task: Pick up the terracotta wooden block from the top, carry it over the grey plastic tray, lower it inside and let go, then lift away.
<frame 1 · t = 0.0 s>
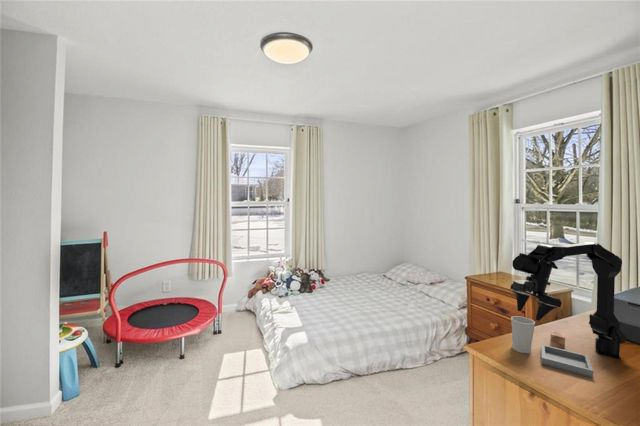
hand: (527, 315, 117), 15 cm above the dresser, tool pointing down, fingers open, 9 cm apart
cup: (521, 349, 122), on the dresser
tray: (564, 363, 112), on the dresser
block: (557, 346, 126), on the dresser
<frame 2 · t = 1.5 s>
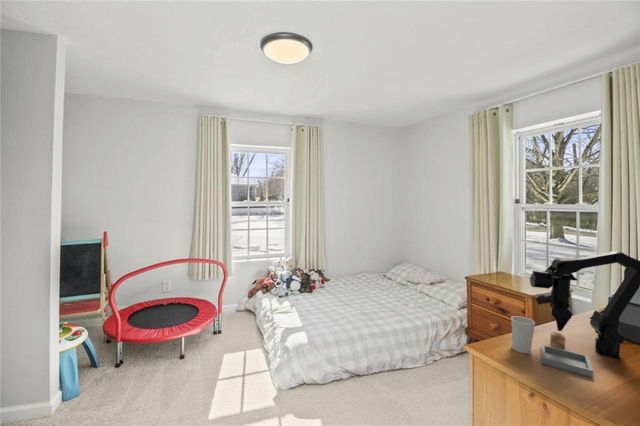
hand: (558, 326, 125), 8 cm above the dresser, tool pointing down, fingers open, 9 cm apart
nothing on the dresser moved.
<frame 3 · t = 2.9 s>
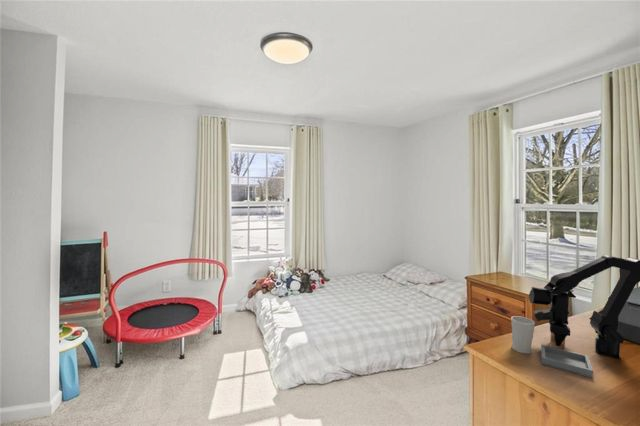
hand: (557, 343, 126), 1 cm above the dresser, tool pointing down, fingers closed on block, 4 cm apart
block: (557, 346, 126), on the dresser, touching gripper
everything else where it was.
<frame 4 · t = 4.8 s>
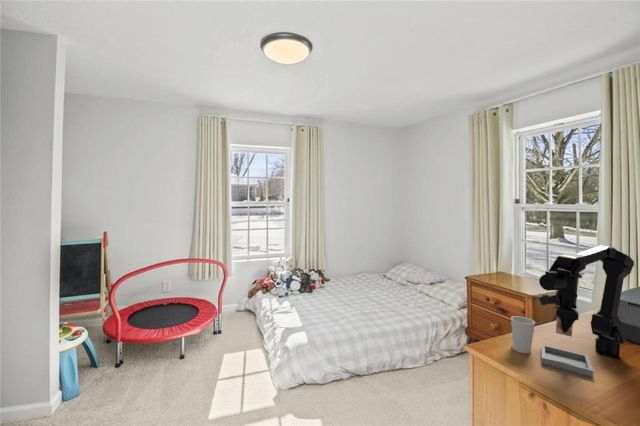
hand: (564, 330, 114), 11 cm above the dresser, tool pointing down, fingers closed on block, 4 cm apart
block: (563, 332, 114), point 10 cm above the dresser, touching gripper
everything else where it was.
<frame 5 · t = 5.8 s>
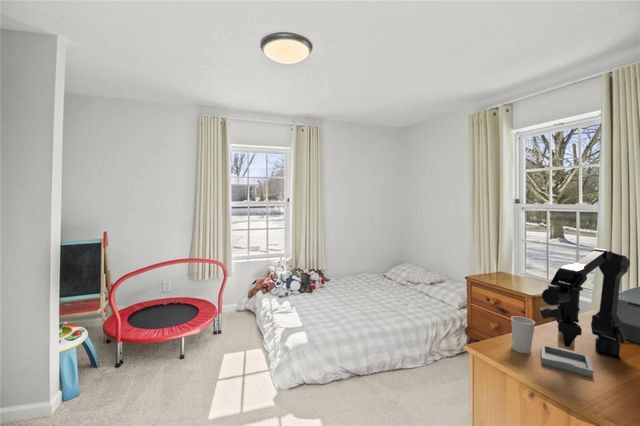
hand: (566, 344, 112), 7 cm above the dresser, tool pointing down, fingers closed on block, 4 cm apart
block: (565, 346, 112), point 6 cm above the dresser, touching gripper
everything else where it was.
when the fingers open (3 cm above the dresser, at t = 6.8 s): block drops 2 cm, resting on tray.
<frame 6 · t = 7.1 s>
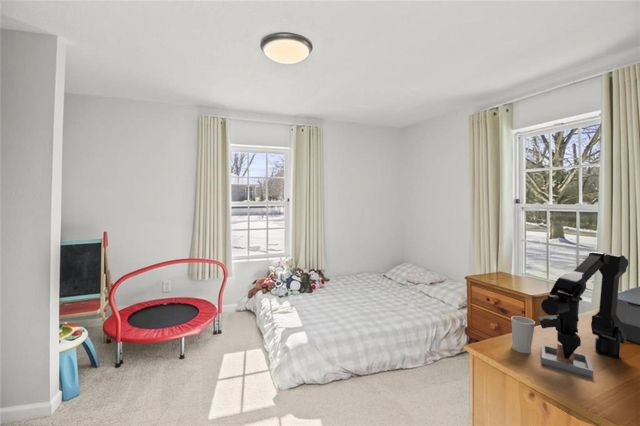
hand: (565, 353, 112), 3 cm above the dresser, tool pointing down, fingers open, 8 cm apart
block: (564, 361, 112), point 1 cm above the dresser, touching tray
everything else where it was.
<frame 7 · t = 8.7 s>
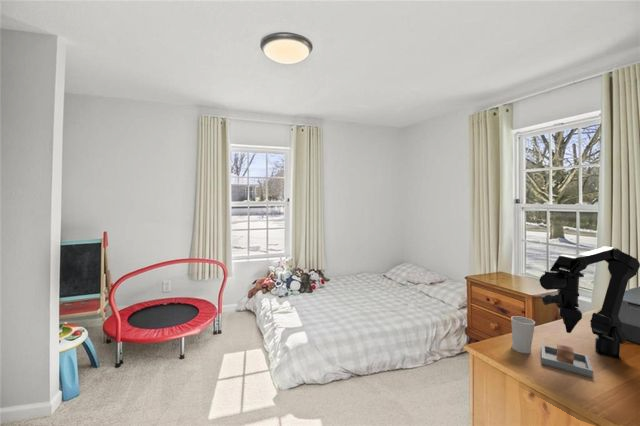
hand: (566, 328, 117), 11 cm above the dresser, tool pointing down, fingers open, 9 cm apart
nothing on the dresser moved.
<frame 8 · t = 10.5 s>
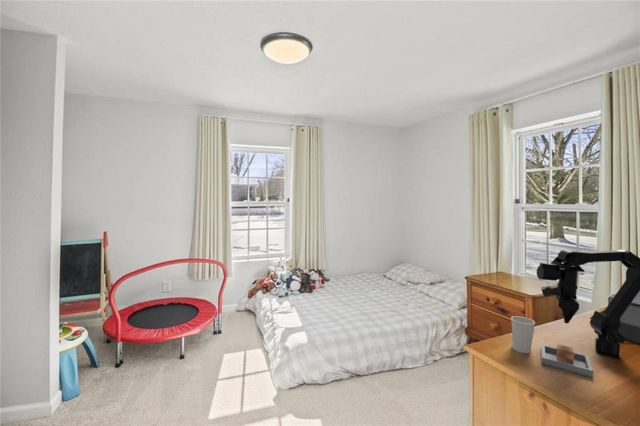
hand: (565, 319, 123), 12 cm above the dresser, tool pointing down, fingers open, 9 cm apart
nothing on the dresser moved.
at the end: block inside the target area on the tray (0.1 cm from its centre), point 0.6 cm above the tray's base; the gripper is holding nothing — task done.
